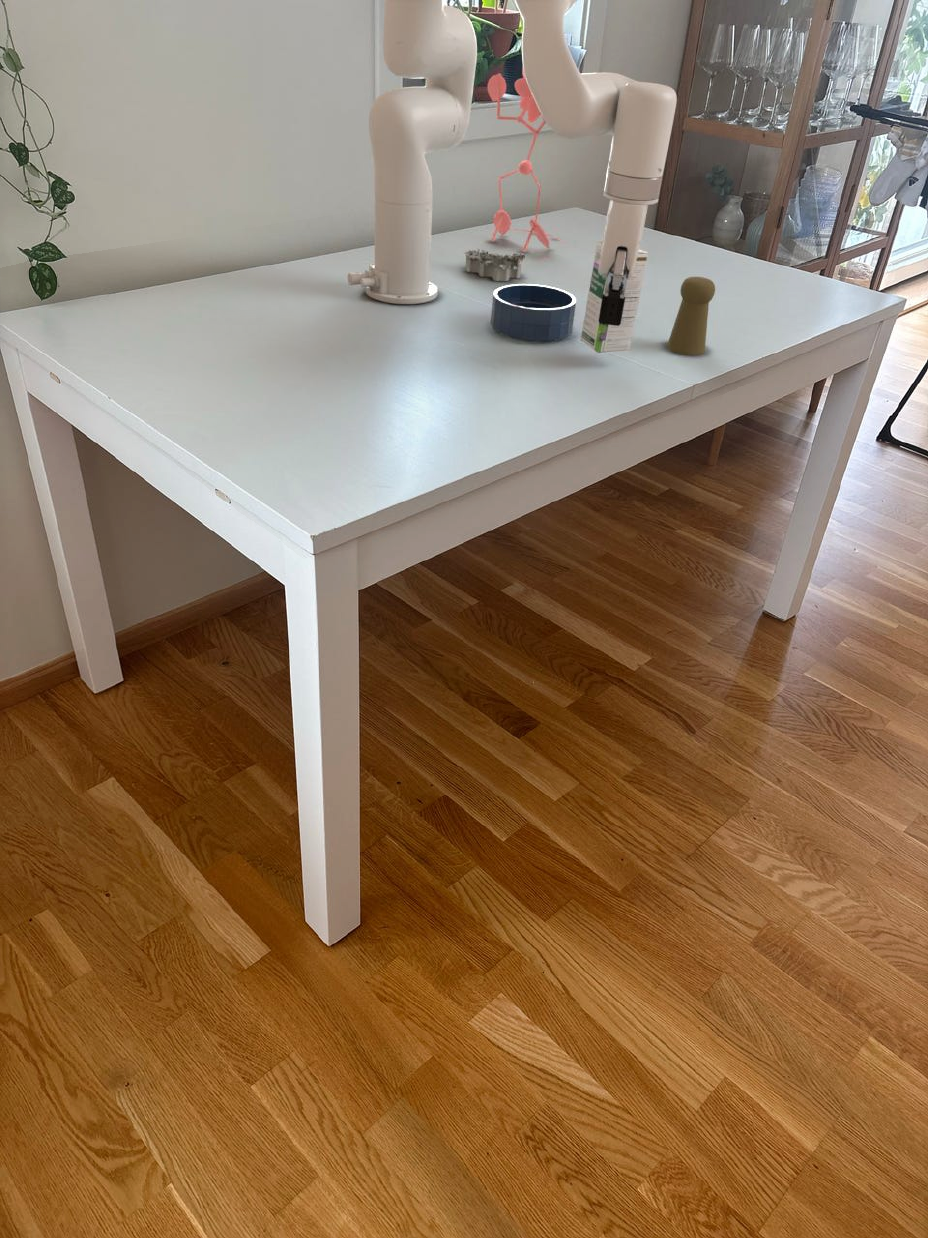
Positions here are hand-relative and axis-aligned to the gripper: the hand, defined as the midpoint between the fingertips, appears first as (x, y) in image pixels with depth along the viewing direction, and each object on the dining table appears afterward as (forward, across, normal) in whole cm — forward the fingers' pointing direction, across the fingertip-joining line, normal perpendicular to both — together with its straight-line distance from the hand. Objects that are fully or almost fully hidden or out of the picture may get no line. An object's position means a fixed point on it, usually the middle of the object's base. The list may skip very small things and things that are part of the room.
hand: (610, 313), depth 138 cm
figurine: (+9, -67, -18) cm, 70 cm away
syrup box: (+5, 0, 0) cm, 5 cm away
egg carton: (+9, -41, -23) cm, 47 cm away
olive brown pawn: (+7, -11, +13) cm, 18 cm away
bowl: (+8, -11, -12) cm, 18 cm away
